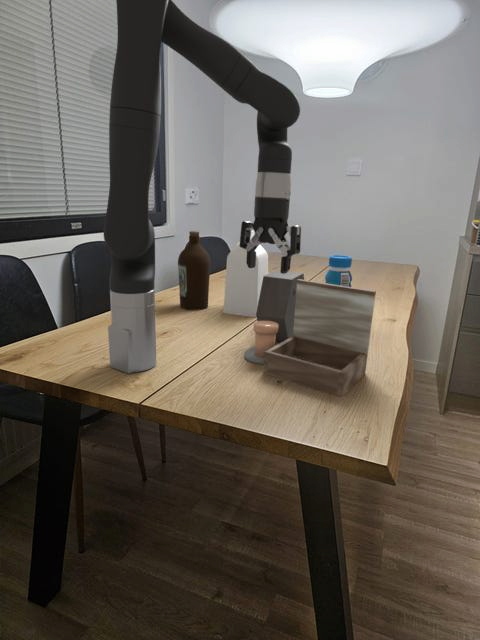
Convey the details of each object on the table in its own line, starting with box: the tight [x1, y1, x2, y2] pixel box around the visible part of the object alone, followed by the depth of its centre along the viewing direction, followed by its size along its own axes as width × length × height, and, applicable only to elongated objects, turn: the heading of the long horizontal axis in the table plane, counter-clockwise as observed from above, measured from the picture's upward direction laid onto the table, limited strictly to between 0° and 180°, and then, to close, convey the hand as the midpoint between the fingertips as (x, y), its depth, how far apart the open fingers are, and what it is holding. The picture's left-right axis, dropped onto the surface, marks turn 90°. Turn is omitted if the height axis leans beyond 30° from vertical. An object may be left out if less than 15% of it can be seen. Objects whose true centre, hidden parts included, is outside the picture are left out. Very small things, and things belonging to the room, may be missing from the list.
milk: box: [223, 230, 269, 318], centre depth 137 cm, size 12×12×26 cm
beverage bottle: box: [324, 254, 353, 287], centre depth 131 cm, size 8×8×20 cm
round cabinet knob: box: [252, 321, 278, 358], centre depth 100 cm, size 6×6×8 cm
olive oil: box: [177, 230, 211, 311], centre depth 139 cm, size 11×11×25 cm
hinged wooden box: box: [262, 279, 377, 398], centre depth 90 cm, size 14×18×19 cm
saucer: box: [243, 347, 264, 365], centre depth 101 cm, size 9×9×1 cm
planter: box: [255, 270, 305, 343], centre depth 114 cm, size 17×8×21 cm
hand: (267, 270), depth 95 cm, fingers open, 8 cm apart
